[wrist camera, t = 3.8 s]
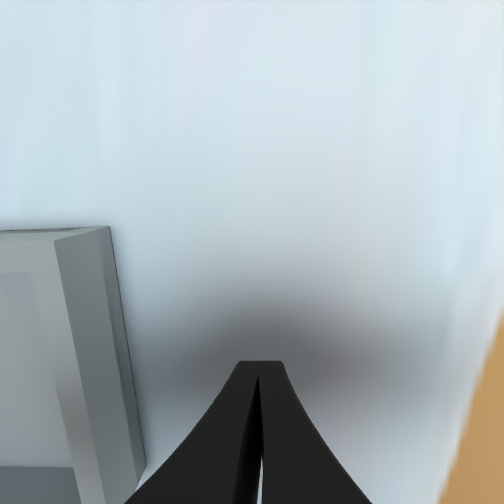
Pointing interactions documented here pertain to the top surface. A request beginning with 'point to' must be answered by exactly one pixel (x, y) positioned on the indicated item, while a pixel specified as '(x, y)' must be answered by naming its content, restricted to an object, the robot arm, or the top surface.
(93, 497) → the tray
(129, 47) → the top surface
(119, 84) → the top surface
